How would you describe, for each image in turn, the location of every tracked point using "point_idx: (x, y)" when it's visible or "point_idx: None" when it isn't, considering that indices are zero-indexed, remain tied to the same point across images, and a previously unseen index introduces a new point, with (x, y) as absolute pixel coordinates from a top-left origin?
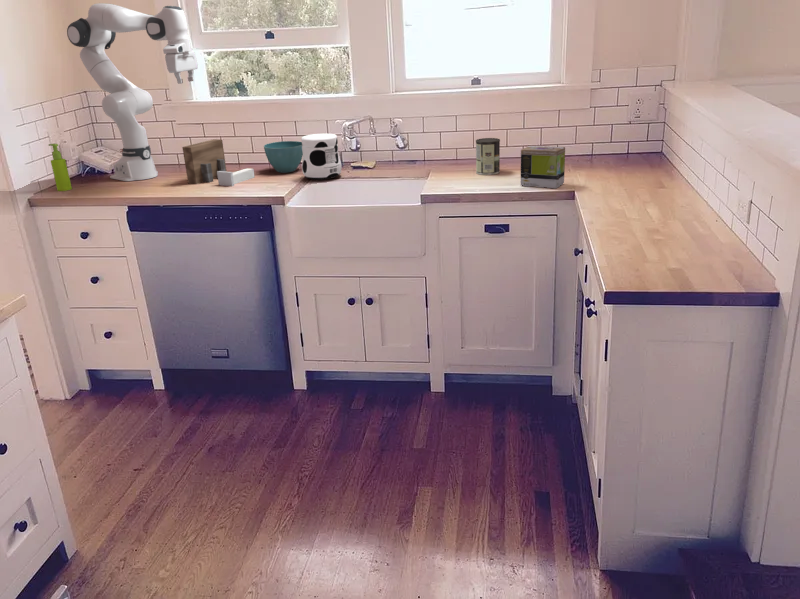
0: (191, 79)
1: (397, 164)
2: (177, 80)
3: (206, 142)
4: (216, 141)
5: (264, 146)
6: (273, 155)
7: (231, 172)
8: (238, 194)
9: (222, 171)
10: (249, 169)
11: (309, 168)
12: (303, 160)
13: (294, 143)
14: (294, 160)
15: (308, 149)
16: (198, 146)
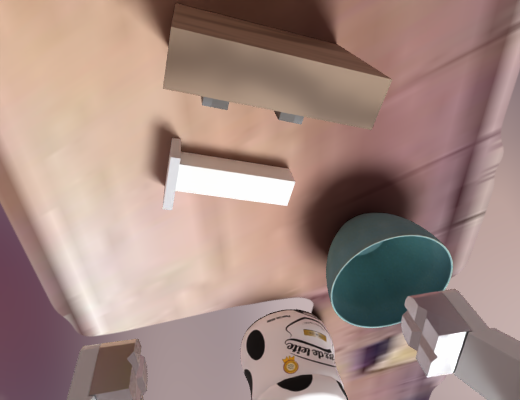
0: (413, 345)
1: (395, 391)
2: (72, 386)
3: (303, 91)
4: (335, 122)
5: (381, 240)
6: (329, 266)
7: (167, 209)
8: (79, 248)
9: (175, 175)
10: (278, 198)
11: (243, 355)
12: (265, 351)
13: (441, 282)
14: (342, 289)
15: (255, 396)
16: (215, 98)
